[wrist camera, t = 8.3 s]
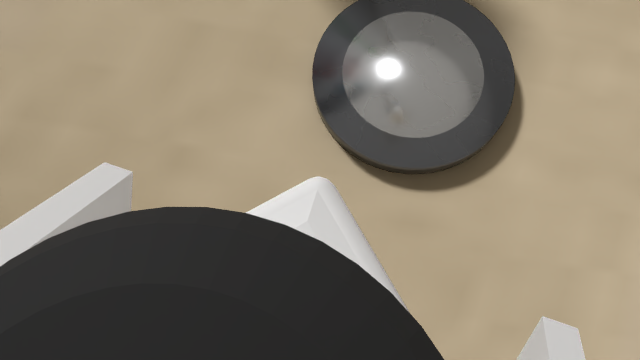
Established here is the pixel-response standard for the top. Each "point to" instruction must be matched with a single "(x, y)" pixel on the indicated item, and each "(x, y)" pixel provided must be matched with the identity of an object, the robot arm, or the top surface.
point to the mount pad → (412, 82)
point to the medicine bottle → (210, 288)
